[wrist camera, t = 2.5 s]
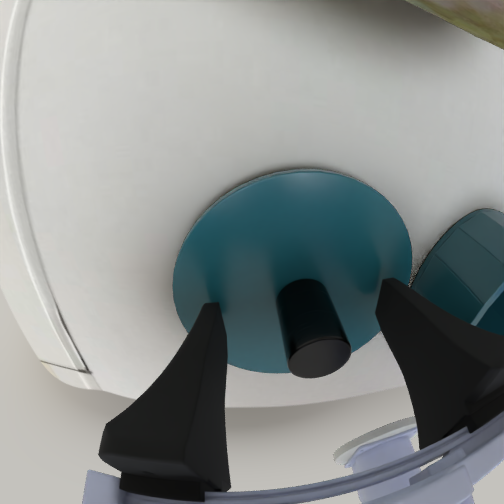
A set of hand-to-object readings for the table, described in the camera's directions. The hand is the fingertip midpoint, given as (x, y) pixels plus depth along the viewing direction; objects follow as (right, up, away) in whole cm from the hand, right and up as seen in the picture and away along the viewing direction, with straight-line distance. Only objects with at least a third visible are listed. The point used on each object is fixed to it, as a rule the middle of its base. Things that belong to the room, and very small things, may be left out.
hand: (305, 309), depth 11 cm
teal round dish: (+12, +1, +3) cm, 12 cm away
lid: (0, +1, +1) cm, 1 cm away
